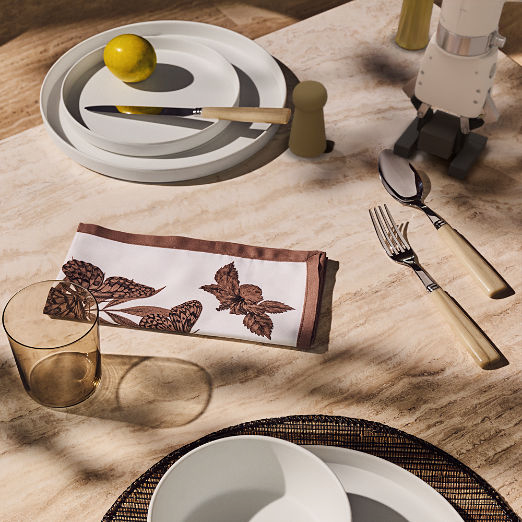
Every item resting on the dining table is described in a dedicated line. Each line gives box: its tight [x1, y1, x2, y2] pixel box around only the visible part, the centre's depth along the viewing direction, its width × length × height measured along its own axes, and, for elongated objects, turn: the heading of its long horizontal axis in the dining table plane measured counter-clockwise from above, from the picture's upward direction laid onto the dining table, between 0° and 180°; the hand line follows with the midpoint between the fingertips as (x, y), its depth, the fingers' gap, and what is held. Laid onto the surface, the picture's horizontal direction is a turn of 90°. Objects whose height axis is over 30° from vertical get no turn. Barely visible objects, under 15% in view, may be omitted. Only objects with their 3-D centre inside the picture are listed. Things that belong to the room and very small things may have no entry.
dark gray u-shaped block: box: [392, 115, 489, 181], centre depth 106 cm, size 12×9×2 cm
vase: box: [394, 0, 435, 51], centre depth 121 cm, size 6×6×14 cm
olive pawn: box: [288, 79, 329, 158], centre depth 104 cm, size 6×6×11 cm
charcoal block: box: [416, 108, 461, 160], centre depth 103 cm, size 5×6×4 cm
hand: (440, 140), depth 104 cm, fingers closed on charcoal block, 5 cm apart
